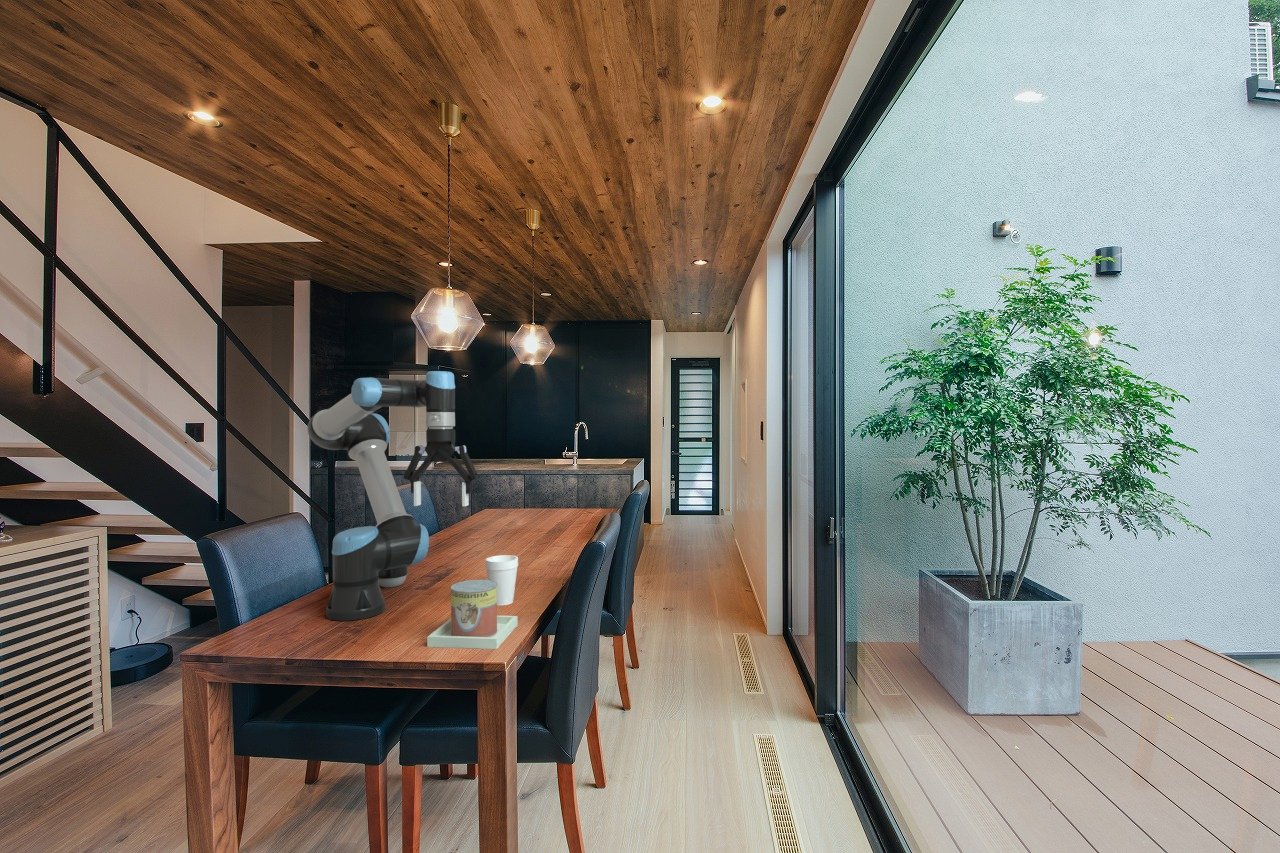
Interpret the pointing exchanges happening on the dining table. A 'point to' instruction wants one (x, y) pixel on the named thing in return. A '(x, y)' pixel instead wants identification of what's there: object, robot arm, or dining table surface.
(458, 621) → the canned food
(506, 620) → the tray
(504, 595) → the foam cup
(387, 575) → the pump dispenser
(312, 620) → the dining table surface
